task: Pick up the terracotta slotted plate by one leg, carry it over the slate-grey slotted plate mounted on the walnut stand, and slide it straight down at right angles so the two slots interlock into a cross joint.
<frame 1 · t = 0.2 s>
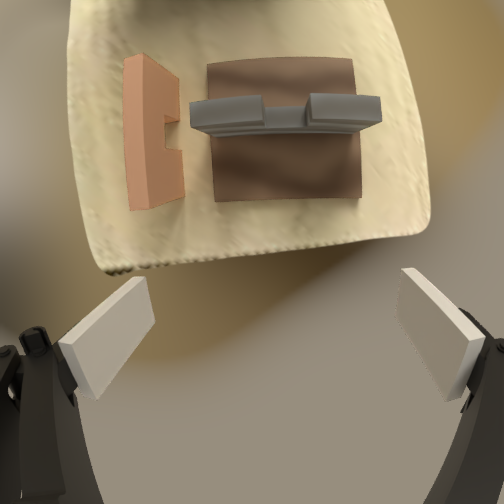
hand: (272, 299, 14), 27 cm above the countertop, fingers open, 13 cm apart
terracotta plate: (172, 136, 38), on the countertop
slotted stand: (285, 126, 36), on the countertop
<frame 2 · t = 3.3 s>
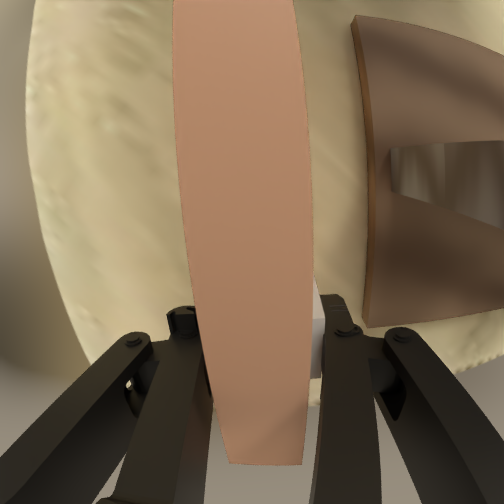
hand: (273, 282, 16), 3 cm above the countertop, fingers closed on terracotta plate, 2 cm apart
terracotta plate: (269, 170, 17), on the countertop, touching gripper
slotted stand: (486, 177, 15), on the countertop
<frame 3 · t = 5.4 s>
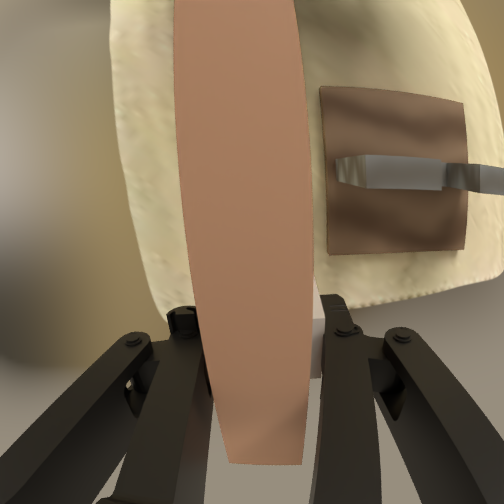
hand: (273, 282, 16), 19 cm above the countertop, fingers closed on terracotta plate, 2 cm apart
terracotta plate: (269, 171, 17), point 17 cm above the countertop, touching gripper
slotted stand: (402, 171, 31), on the countertop
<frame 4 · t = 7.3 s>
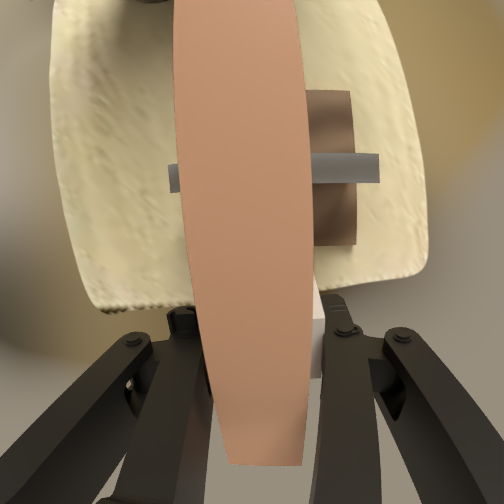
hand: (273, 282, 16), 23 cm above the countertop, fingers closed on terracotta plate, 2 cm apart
terracotta plate: (269, 171, 17), point 20 cm above the countertop, touching gripper
slotted stand: (276, 168, 36), on the countertop
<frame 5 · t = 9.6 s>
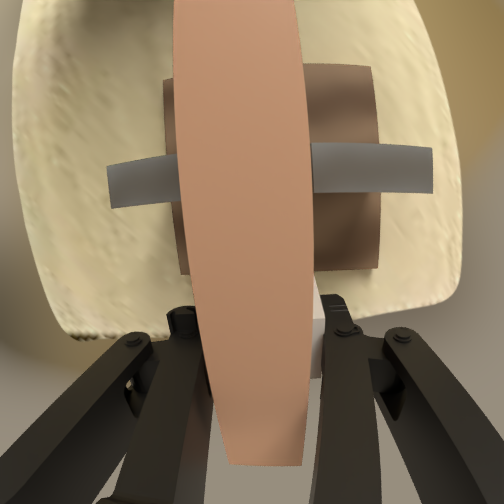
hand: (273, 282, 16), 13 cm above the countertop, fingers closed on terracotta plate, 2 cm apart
terracotta plate: (269, 171, 17), point 10 cm above the countertop, touching gripper
slotted stand: (274, 167, 27), on the countertop
when the fingers open (5 cm above the countertop, at t = 11.4 s): terracotta plate stays where it is, resting on slotted stand.
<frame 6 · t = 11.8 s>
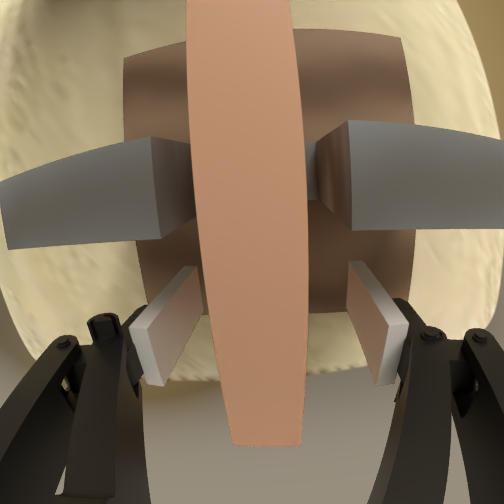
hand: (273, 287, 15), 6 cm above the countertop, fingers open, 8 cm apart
terracotta plate: (270, 173, 18), point 2 cm above the countertop, touching slotted stand
slotted stand: (271, 170, 19), on the countertop
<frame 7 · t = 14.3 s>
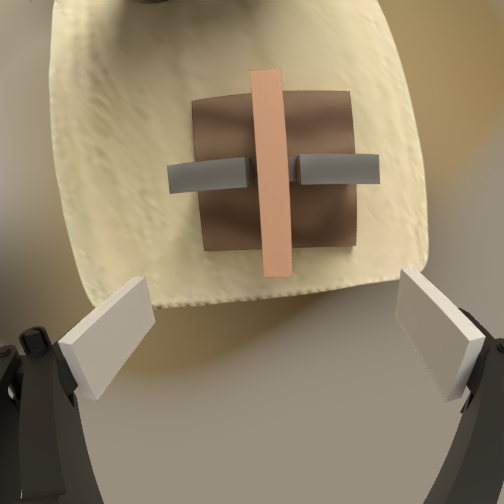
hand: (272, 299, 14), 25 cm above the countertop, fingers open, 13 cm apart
terracotta plate: (275, 170, 34), point 2 cm above the countertop, touching slotted stand
slotted stand: (276, 169, 36), on the countertop
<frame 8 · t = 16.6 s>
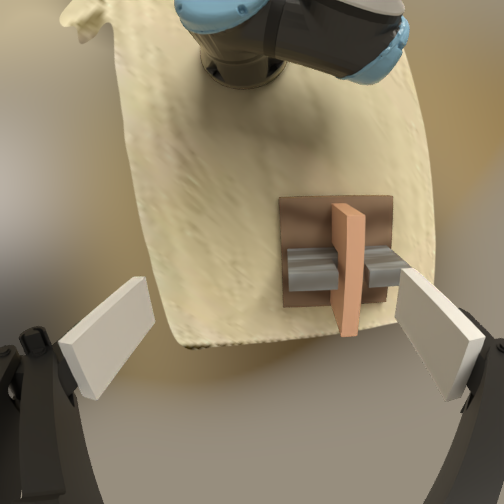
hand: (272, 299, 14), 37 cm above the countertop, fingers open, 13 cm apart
terracotta plate: (338, 254, 49), point 2 cm above the countertop, touching slotted stand
slotted stand: (337, 251, 50), on the countertop
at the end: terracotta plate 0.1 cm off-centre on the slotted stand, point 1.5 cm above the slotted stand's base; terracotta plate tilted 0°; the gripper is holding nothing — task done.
